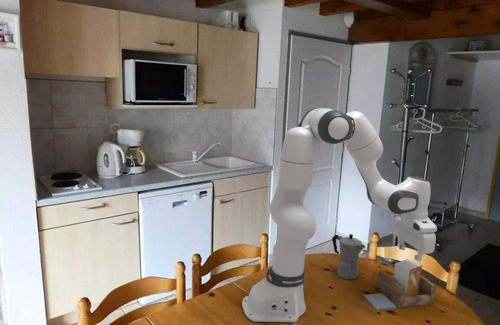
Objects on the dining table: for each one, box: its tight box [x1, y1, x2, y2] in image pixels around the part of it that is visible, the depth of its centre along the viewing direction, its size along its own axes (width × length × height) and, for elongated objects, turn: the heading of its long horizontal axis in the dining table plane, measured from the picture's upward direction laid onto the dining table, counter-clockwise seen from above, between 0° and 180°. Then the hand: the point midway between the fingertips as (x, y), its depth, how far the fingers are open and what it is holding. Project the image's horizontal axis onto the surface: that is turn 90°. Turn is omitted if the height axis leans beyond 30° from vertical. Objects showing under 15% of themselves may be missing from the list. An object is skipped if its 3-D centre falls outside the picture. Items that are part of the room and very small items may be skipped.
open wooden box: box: [376, 269, 437, 308], centre depth 138 cm, size 15×14×8 cm
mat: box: [362, 292, 398, 311], centre depth 133 cm, size 8×9×1 cm
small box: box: [392, 258, 423, 297], centre depth 138 cm, size 8×6×13 cm
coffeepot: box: [331, 233, 366, 280], centre depth 153 cm, size 15×9×18 cm, turn 44°
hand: (409, 254), depth 136 cm, fingers open, 8 cm apart
